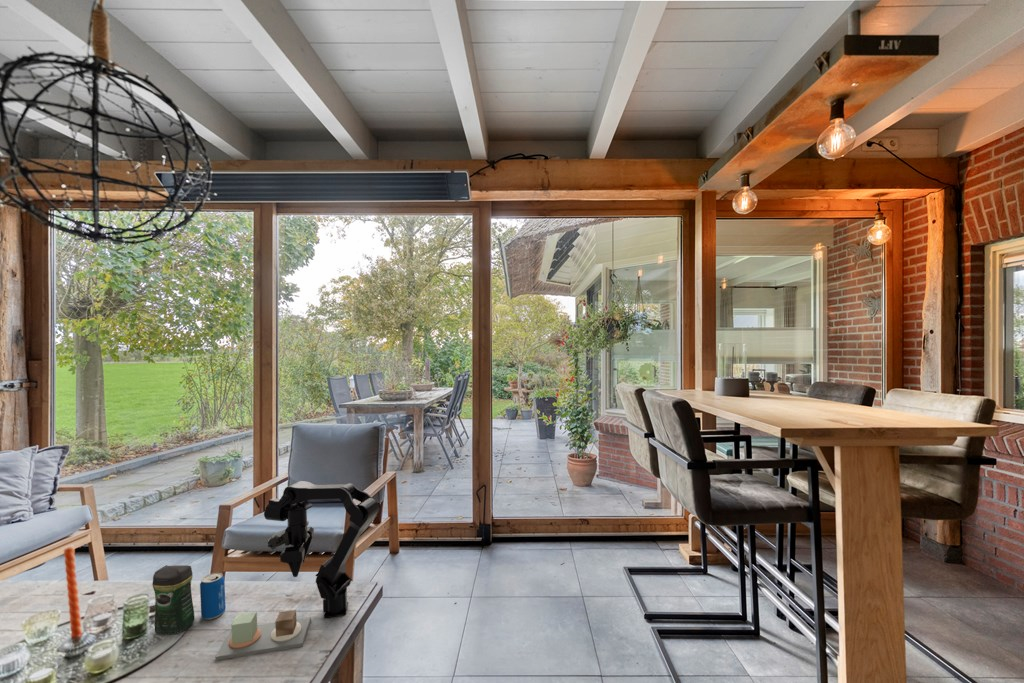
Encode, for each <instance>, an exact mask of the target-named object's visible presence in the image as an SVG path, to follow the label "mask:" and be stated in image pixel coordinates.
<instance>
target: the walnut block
mask: <svg viewBox="0 0 1024 683" xmlns="http://www.w3.org/2000/svg"><path fill="white" fill-rule="evenodd" d="M296 619H297V609H292V610H286V611H285V610H284V611H279V613H278V615H277V618H275V621H274V622H275V626H276V637H278V636H285V635H291V634H293V632H294V630H295V627H296V625H297V622H296Z"/></svg>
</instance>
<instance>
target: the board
mask: <svg viewBox="0 0 1024 683" xmlns="http://www.w3.org/2000/svg"><path fill="white" fill-rule="evenodd" d="M311 621H312V618H311V616H309V617H301V618H296V622H297V625H296V627H295V630H294V632H293V634H291V635H285V636H278V637H276V626H275V621H274V622H270V623H268V622H267V623H262V624H257V632H256V634H255V635H254V637H253V639H252V641H249V642H243V643H236V644H232V630H230V631H229V632H228V635H227V636H226V638H225V639H224V641H223V643H222V645H221V646H220V648H219V650H218V651H217V653H216V655H215V657H214V658H215V659H214V661H221V660H226V659H227V660H228V659H232V658H239V657H244V656H251V655H252V656H253V655H257V654H263V653H271V652H277V651H282V650H288V649H294V648H300V647H303V646H304V641H305V640H306V636H307V634H308V630H309V627H310V624H311Z"/></svg>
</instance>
